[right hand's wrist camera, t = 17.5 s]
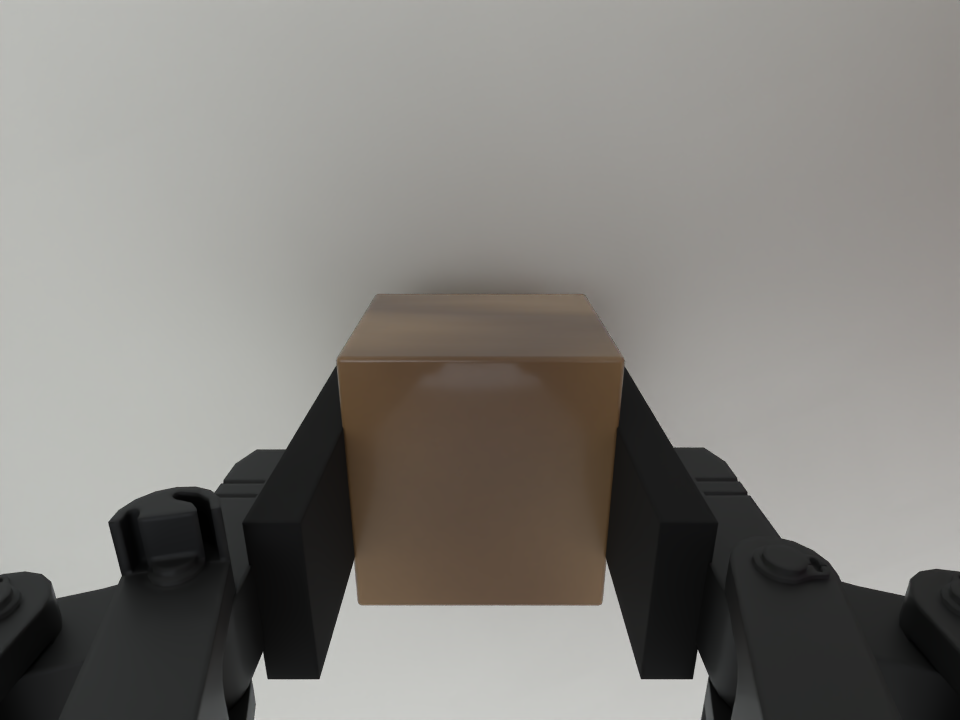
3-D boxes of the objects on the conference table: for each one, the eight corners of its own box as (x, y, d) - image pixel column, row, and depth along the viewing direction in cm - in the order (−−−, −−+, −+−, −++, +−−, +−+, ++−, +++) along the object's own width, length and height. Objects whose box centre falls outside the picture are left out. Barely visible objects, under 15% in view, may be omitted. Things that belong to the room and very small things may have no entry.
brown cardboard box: (387, 489, 16) (356, 607, 12) (375, 292, 14) (334, 357, 10) (572, 488, 16) (603, 607, 12) (585, 293, 14) (626, 357, 10)
